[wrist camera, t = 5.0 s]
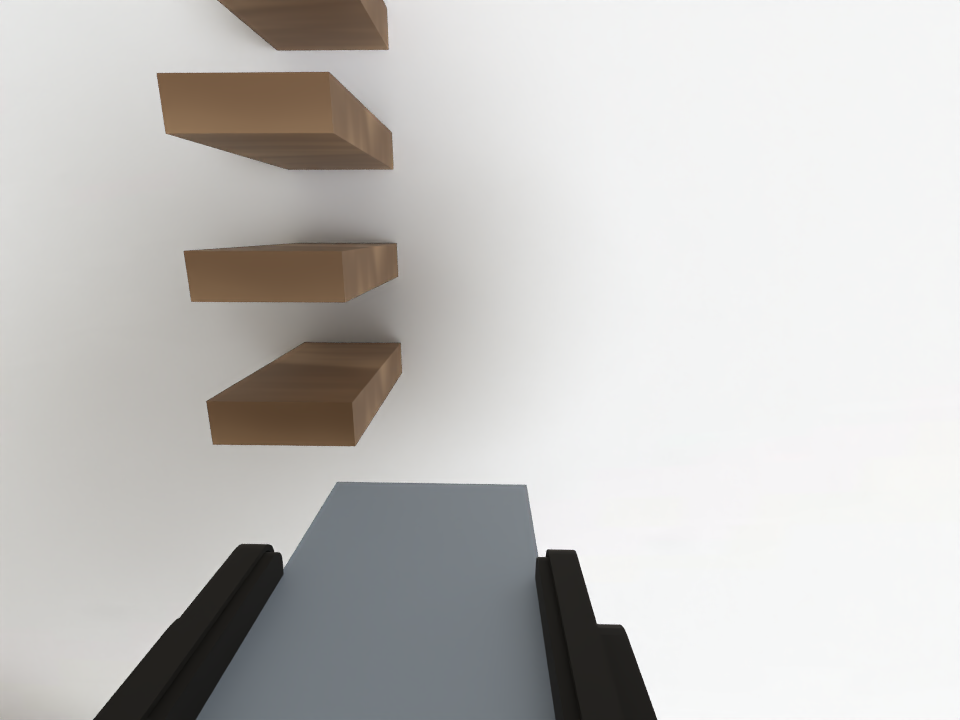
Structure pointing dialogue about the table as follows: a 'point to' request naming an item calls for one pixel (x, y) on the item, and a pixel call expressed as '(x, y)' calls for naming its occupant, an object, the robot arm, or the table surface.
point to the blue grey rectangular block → (400, 613)
